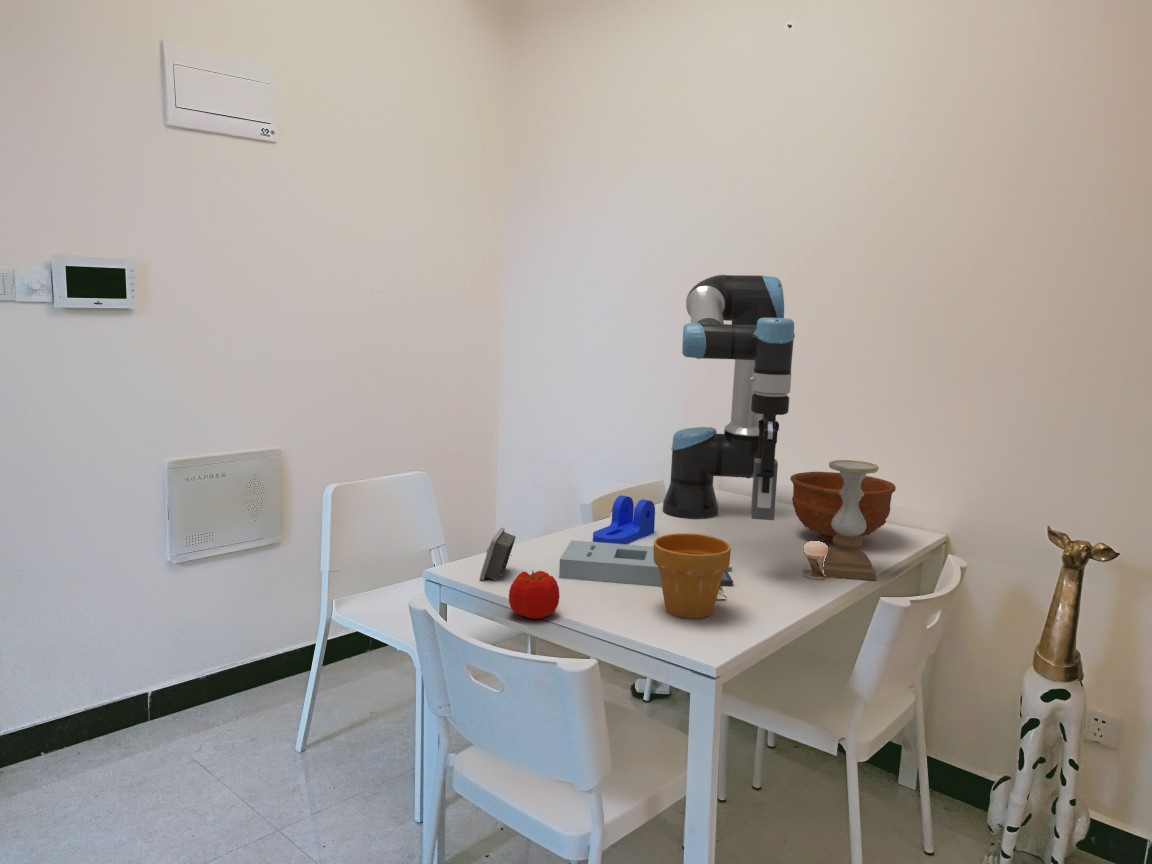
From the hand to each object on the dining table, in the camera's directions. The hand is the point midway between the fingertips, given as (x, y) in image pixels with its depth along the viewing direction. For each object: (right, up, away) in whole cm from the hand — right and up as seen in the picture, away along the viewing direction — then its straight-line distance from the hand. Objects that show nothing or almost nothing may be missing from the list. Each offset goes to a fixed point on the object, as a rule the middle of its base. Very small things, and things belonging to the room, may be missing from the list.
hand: (763, 503), depth 174 cm
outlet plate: (-31, -15, +3) cm, 34 cm away
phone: (-14, -16, -1) cm, 21 cm away
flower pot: (-18, -19, -18) cm, 32 cm away
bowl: (+26, -12, +33) cm, 44 cm away
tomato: (-47, -18, -22) cm, 55 cm away
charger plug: (0, -3, 0) cm, 3 cm away
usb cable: (-13, -14, +8) cm, 21 cm away
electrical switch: (-56, -15, -1) cm, 58 cm away
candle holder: (+20, -16, +8) cm, 26 cm away
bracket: (-28, -11, +29) cm, 42 cm away
